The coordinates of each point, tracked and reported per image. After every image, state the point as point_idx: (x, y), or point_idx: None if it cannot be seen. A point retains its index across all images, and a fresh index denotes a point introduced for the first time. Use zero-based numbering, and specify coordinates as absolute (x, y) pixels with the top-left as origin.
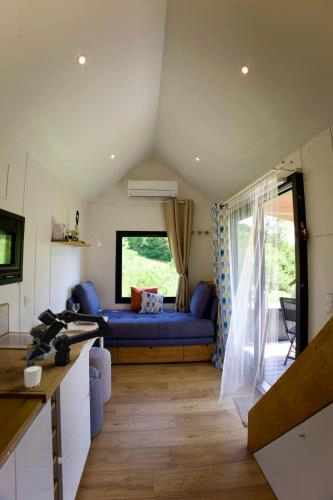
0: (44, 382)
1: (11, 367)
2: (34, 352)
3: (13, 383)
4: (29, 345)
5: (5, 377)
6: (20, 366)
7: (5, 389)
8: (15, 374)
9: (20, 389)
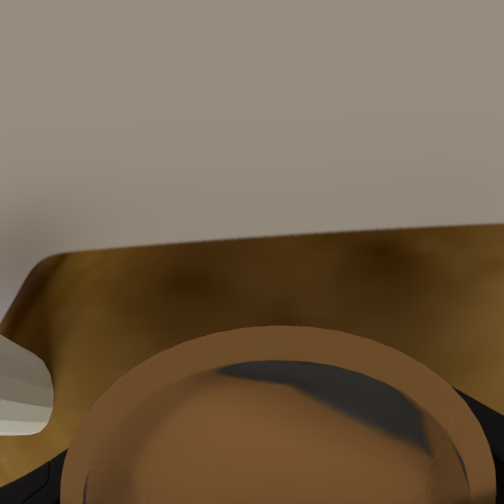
0: (23, 459)
1: (452, 270)
2: (27, 482)
3: (110, 296)
4: (209, 469)
5: (254, 242)
6: (451, 340)
7: (70, 256)
8: (275, 311)
9: (22, 326)
